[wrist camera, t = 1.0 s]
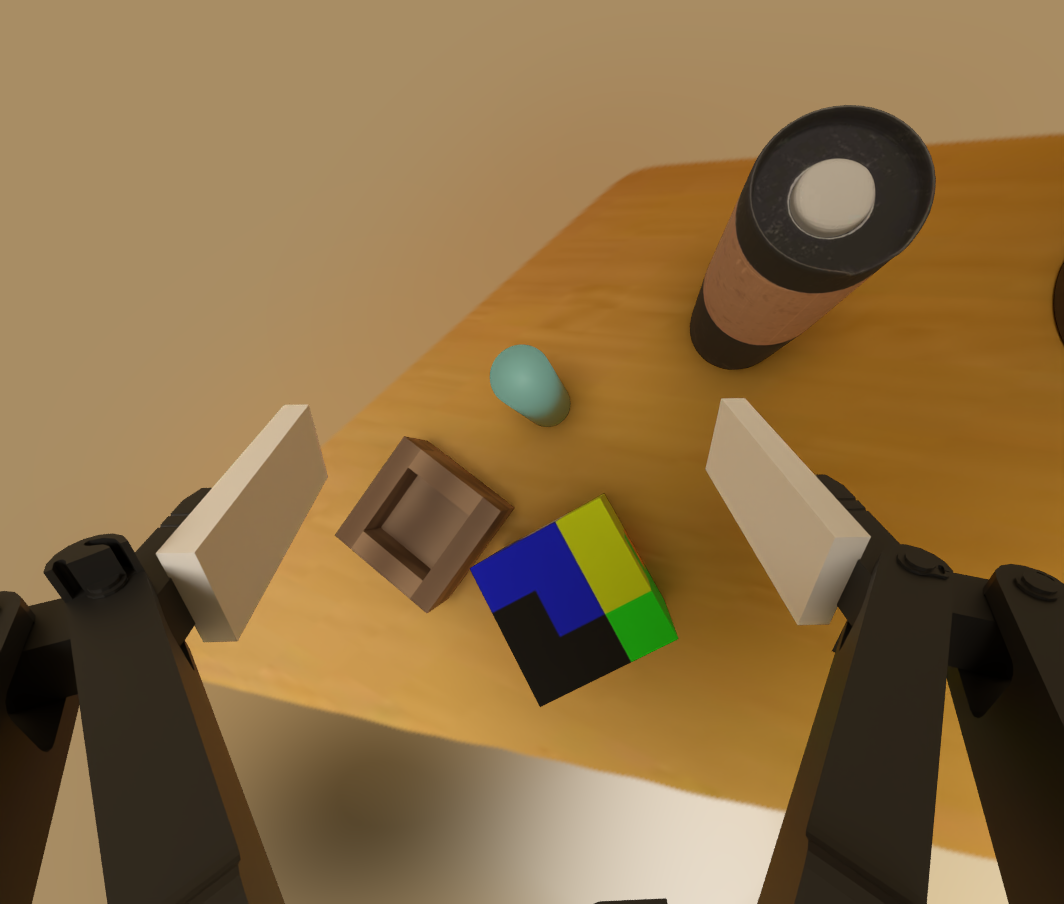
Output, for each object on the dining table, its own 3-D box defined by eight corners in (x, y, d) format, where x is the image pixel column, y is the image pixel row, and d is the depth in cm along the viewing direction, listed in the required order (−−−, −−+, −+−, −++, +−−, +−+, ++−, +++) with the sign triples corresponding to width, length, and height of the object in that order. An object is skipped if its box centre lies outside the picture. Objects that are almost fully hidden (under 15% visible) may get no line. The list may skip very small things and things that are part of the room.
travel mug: (706, 270, 42) (784, 82, 22) (798, 298, 40) (970, 125, 20) (672, 355, 42) (718, 244, 22) (762, 386, 40) (899, 298, 21)
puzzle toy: (503, 547, 43) (469, 568, 34) (604, 493, 42) (599, 497, 32) (558, 653, 42) (540, 707, 32) (664, 600, 41) (678, 638, 31)
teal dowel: (579, 398, 43) (564, 367, 31) (552, 435, 43) (526, 419, 31) (542, 372, 44) (513, 332, 32) (516, 409, 44) (477, 383, 32)
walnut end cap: (514, 507, 43) (500, 511, 38) (448, 598, 44) (427, 613, 39) (427, 440, 45) (404, 436, 40) (365, 529, 46) (334, 535, 41)
